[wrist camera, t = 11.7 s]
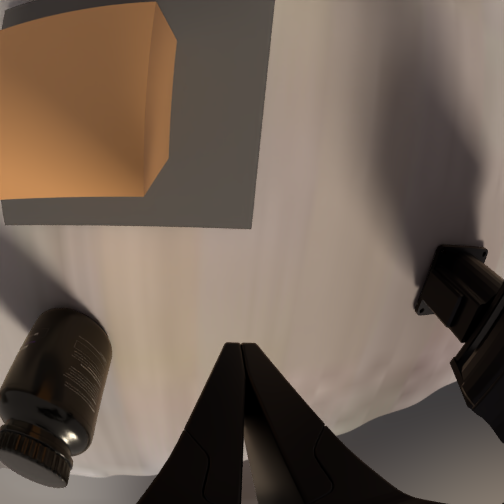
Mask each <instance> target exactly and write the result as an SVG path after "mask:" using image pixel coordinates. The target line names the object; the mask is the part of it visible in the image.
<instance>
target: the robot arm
mask: <svg viewBox="0 0 504 504" xmlns="http://www.w3.org/2000/svg"><path fill="white" fill-rule="evenodd" d="M487 253H488V250H487V249H486V248H484V247H476V246H460V245H444V244H442V245H440V246H439V247H438V248H437V250H436V253H435V256H434V259H433V262H432V265H431V268H430V271H429V274H428V276H427V279H426V282H425V285H424V287H423V290H422V293H421V295H420V298H419V300H418V303H417V305H416V308H415V312H416V313H417V314H418V315H429V314H435V315H436V316H437V317H438V318H439V319H440V320H441V322H442V323H443V324H444V325H445V326H446V327H448V328H449V329H450V330H451V331H452V332H453V334H454V335H455V336H456V337H457V338H458V340H459V341H460V342H461V343H464V342H465V344H464V345H463V347H462V348H461V350H460V351H459V352H458V354H457V355H456V356H455V357H453V359H452V360H451V361H450V365H451V367H452V370H453V372H454V374H455V377H456V379H457V382H458V384H459V387H460V389H461V392H462V394H463V396H464V399H465V402H466V404H467V406H468V407H469V408H470V409H472V411H474V412H475V413H476V414H477V415H479V416H480V417H482V418H483V419H484V420H485V421H486V422H487V423H488V424H489V425H490V426H491V427H492V429H493V430H494V432H495V433H496V435H497V436H498V438H499V439H500V440H501V441H502V443H504V280H503V279H502V278H501V277H500V276H499V275H497V274H496V273H495V272H494V271H493V270H491V269H490V268H489V267H488V266H486V265H485V264H484V262H485V259H486V256H487ZM244 440H245V445H246V450H247V455H248V459H249V464H250V469H251V473H252V478H253V483H254V487H255V492H256V497H257V501H258V504H446V503H440V502H434V501H429V500H423V499H419V498H415V497H412V496H410V495H407V494H405V493H403V492H402V491H400V490H398V489H397V488H395V487H394V486H393V485H391V484H390V483H389V482H387V481H386V480H385V479H383V478H382V477H381V476H380V475H378V474H377V473H376V472H375V471H374V470H372V469H371V468H370V467H369V466H367V465H366V464H365V463H364V462H363V461H362V460H360V459H359V458H358V457H357V456H356V455H355V454H354V453H353V452H351V451H350V450H349V449H348V448H347V447H346V446H345V445H344V444H343V443H342V442H341V441H340V440H339V439H338V438H337V437H336V436H335V435H334V434H333V432H332V431H331V430H330V429H329V428H328V427H327V426H325V424H324V423H323V421H322V420H321V419H320V418H319V417H318V416H317V415H316V413H315V412H314V411H313V410H312V409H311V408H310V407H309V405H308V404H307V403H306V402H305V401H304V400H303V399H302V397H301V396H300V395H299V394H298V393H297V392H296V390H295V389H294V388H293V387H292V386H291V385H290V383H289V382H288V381H287V380H286V379H285V378H284V376H283V375H282V374H281V373H280V372H279V370H278V369H277V368H276V367H275V366H274V364H273V363H272V362H271V361H270V360H269V358H268V357H267V356H266V355H265V354H264V352H263V351H262V350H261V349H260V348H259V346H258V345H257V344H256V343H242V344H241V345H240V343H234V342H227V343H225V344H224V346H223V348H222V351H221V353H220V355H219V357H218V359H217V361H216V363H215V365H214V368H213V370H212V372H211V374H210V376H209V378H208V380H207V382H206V384H205V386H204V389H203V391H202V393H201V395H200V397H199V399H198V401H197V403H196V405H195V407H194V409H193V412H192V414H191V416H190V418H189V420H188V422H187V424H186V426H185V428H184V431H183V432H182V434H181V436H180V438H179V440H178V442H177V444H176V446H175V448H174V449H173V451H172V453H171V455H170V457H169V458H168V460H167V461H166V463H165V464H164V466H163V468H162V469H161V471H160V472H159V473H158V475H157V476H156V478H155V479H154V480H153V482H152V483H151V485H150V486H149V487H148V489H147V490H146V492H145V493H144V494H143V495H142V497H141V498H140V499H139V501H138V502H137V503H136V504H241V490H242V467H243V443H244ZM503 504H504V503H503Z"/></svg>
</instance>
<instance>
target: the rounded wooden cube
mask: <svg viewBox="0 0 504 504" xmlns="http://www.w3.org/2000/svg"><path fill="white" fill-rule="evenodd" d="M176 44H177V40H176V38H175V36H174V34H173V32H172V30H171V28H170V26H169V25H168V23H167V21H166V19H165V17H164V15H163V13H162V11H161V10H160V8H159V6H158V4H157V2H139V3H127V4H117V5H109V6H101V7H94V8H88V9H82V10H76V11H71V12H66V13H61V14H57V15H52V16H48V17H44V18H40V19H36V20H32V21H29V22H25V23H22V24H18V25H15V26H12V27H9V28H6V29H3V30H0V200H5V199H26V198H55V197H144V196H145V194H146V192H147V191H148V189H149V188H150V186H151V184H152V183H153V181H154V180H155V178H156V177H157V175H158V174H159V172H160V171H161V169H162V168H163V166H164V165H165V163H166V162H167V160H168V159H169V135H170V116H171V101H172V87H173V75H174V64H175V54H176Z"/></svg>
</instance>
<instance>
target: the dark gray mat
mask: <svg viewBox="0 0 504 504" xmlns="http://www.w3.org/2000/svg"><path fill="white" fill-rule="evenodd" d="M139 2H157V4H158V6H159V8H160V10H161V11H162V13H163V15H164V17H165V19H166V21H167V23H168V25H169V26H170V28H171V30H172V32H173V34H174V36H175V38H176V40H177V44H176V54H175V64H174V75H173V87H172V101H171V116H170V135H169V159H168V160H167V162H166V163H165V165H164V166H163V168H162V169H161V171H160V172H159V174H158V175H157V177H156V178H155V180H154V181H153V183H152V184H151V186H150V188H149V189H148V191H147V192H146V194H145V196H144V197H55V198H26V199H5V200H1V203H2V210H3V216H4V222H5V225H110V226H164V227H202V228H233V229H251V228H252V218H253V208H254V198H255V188H256V178H257V168H258V158H259V149H260V139H261V129H262V119H263V110H264V100H265V90H266V81H267V71H268V61H269V52H270V42H271V33H272V23H273V14H274V4H275V0H36V1H32V2H29V3H26V4H22V5H19V6H16V7H13V8H10V9H7V10H5V15H4V20H3V26H2V30H3V29H6V28H9V27H12V26H15V25H18V24H22V23H25V22H29V21H32V20H36V19H40V18H44V17H48V16H52V15H57V14H61V13H66V12H71V11H76V10H82V9H88V8H94V7H101V6H109V5H117V4H127V3H139Z"/></svg>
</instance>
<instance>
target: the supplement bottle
mask: <svg viewBox="0 0 504 504" xmlns="http://www.w3.org/2000/svg"><path fill="white" fill-rule="evenodd" d="M111 359H112V347H111V344H110V341H109V339H108V337H107V335H106V333H105V332H104V331H103V329H102V328H101V327H100V326H99V325H98V324H97V323H96V322H95V321H93V320H92V319H91V318H89V317H88V316H86V315H84V314H82V313H80V312H78V311H75V310H72V309H67V308H54V309H50V310H47V311H45V312H44V313H42V314H41V315H40V316H39V317H38V319H37V320H36V322H35V324H34V325H33V327H32V328H31V330H30V332H29V334H28V336H27V337H26V339H25V341H24V343H23V345H22V347H21V348H20V350H19V352H18V354H17V356H16V358H15V360H14V362H13V364H12V366H11V368H10V370H9V372H8V374H7V376H6V378H5V380H4V382H3V384H2V386H1V388H0V417H1V418H2V420H3V422H4V423H5V424H4V425H2V426H1V427H0V461H1V462H2V463H3V464H4V465H6V466H7V467H8V468H10V469H11V470H12V471H14V472H16V473H17V474H19V475H21V476H23V477H25V478H27V479H29V480H31V481H34V482H36V483H39V484H42V485H45V486H48V487H53V488H63V487H66V486H67V484H68V480H69V474H70V470H72V467H73V460H72V458H71V456H76V455H79V454H82V453H83V452H85V451H86V450H87V449H88V448H89V446H90V445H91V443H92V439H93V435H94V430H95V426H96V421H97V416H98V412H99V408H100V403H101V399H102V395H103V391H104V387H105V383H106V379H107V375H108V371H109V367H110V363H111Z"/></svg>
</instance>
